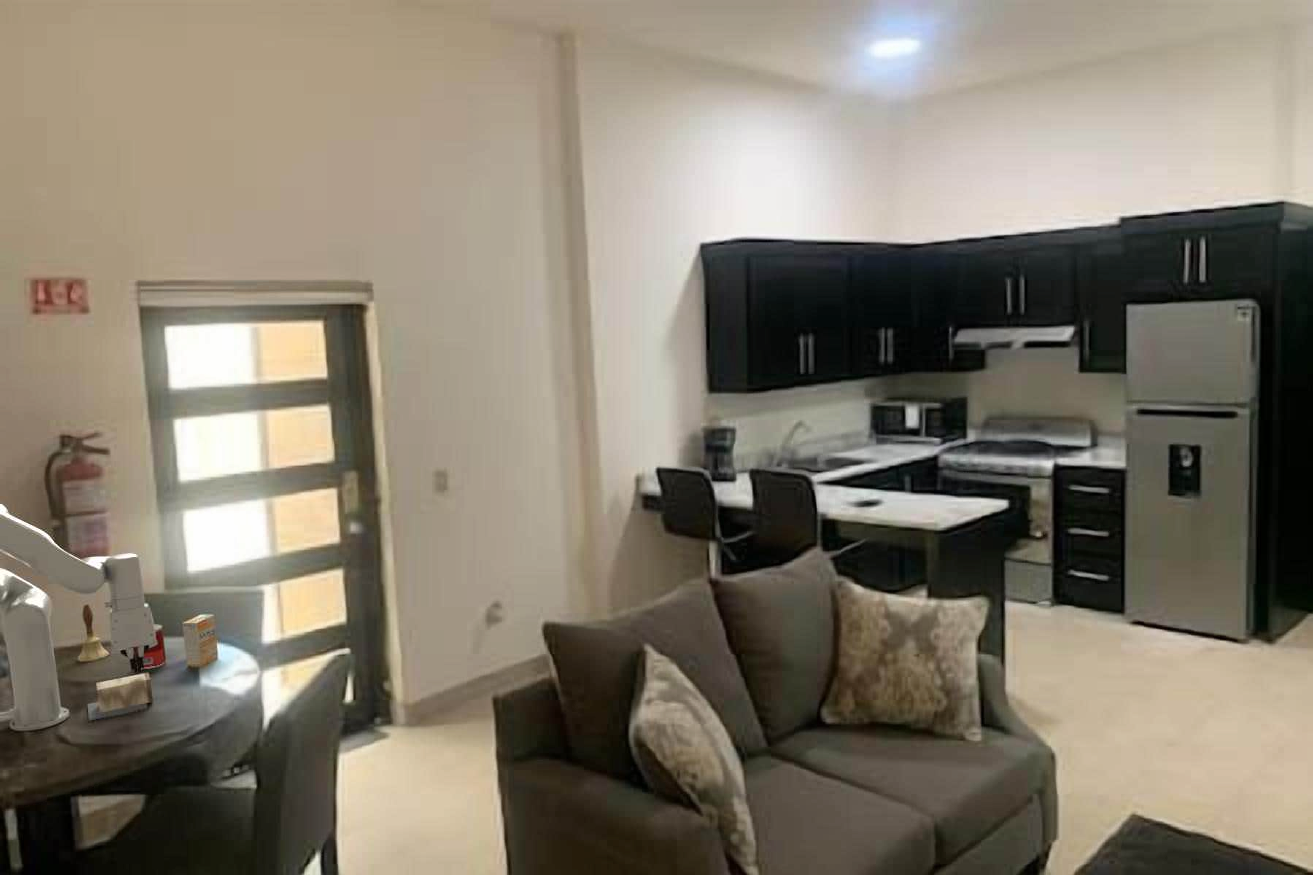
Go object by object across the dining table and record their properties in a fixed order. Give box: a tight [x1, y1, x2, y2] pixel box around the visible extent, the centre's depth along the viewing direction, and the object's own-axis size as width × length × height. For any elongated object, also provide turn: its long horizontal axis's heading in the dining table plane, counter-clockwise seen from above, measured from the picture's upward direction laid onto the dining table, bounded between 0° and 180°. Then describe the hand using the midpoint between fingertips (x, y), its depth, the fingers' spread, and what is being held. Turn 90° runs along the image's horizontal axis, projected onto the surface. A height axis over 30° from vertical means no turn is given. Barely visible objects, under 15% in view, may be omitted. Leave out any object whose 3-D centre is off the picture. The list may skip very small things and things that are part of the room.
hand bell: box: [76, 603, 110, 663], centre depth 302 cm, size 8×8×16 cm
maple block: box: [96, 672, 154, 713], centre depth 262 cm, size 6×6×12 cm
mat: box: [87, 701, 148, 722], centre depth 261 cm, size 13×12×1 cm
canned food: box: [132, 623, 167, 667], centre depth 292 cm, size 8×8×11 cm
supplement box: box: [182, 614, 219, 668], centre depth 292 cm, size 8×5×13 cm, turn 168°
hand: (138, 671), depth 263 cm, fingers closed
